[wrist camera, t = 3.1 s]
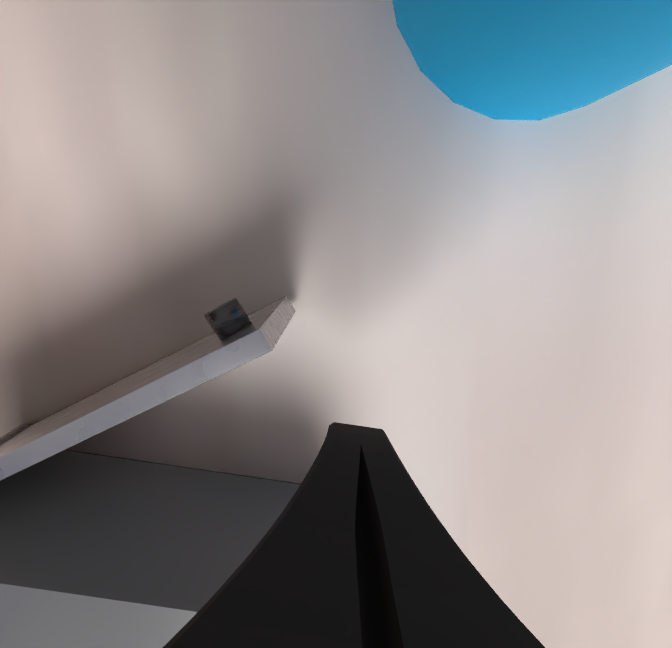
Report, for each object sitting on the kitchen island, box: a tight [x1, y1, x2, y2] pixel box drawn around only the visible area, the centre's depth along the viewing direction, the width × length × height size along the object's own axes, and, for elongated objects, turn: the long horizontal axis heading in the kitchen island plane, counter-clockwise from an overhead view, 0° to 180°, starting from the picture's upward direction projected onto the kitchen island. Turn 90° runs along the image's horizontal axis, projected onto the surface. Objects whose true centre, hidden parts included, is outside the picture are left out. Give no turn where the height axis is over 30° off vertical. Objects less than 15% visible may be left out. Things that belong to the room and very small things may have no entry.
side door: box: [0, 296, 295, 480], centre depth 11 cm, size 13×2×4 cm, turn 117°
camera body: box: [0, 450, 301, 648], centre depth 12 cm, size 15×8×6 cm, turn 82°
